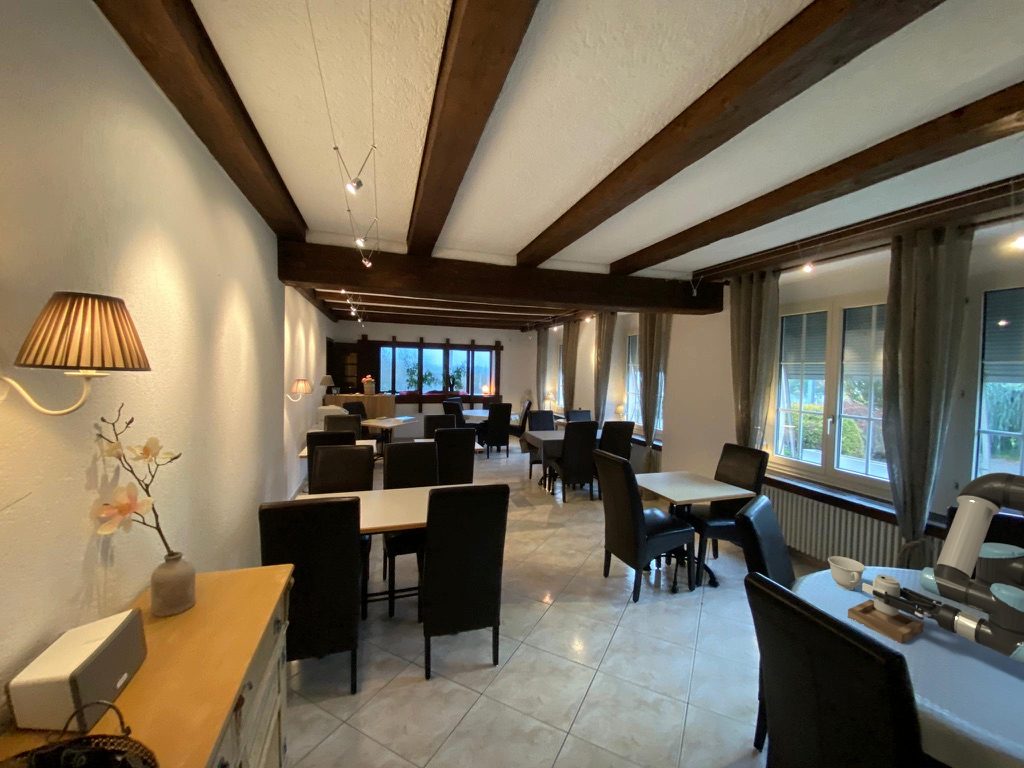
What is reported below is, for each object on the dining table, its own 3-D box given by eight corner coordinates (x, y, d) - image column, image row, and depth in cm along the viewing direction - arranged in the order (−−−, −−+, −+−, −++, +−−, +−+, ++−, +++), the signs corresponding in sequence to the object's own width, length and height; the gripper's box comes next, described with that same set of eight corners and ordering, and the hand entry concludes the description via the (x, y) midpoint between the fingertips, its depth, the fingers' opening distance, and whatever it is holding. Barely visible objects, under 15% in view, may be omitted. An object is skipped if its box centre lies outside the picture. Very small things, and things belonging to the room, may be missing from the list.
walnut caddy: (869, 606, 150) (870, 599, 150) (923, 631, 137) (924, 622, 137) (847, 617, 144) (848, 609, 144) (901, 644, 131) (901, 635, 130)
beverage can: (872, 603, 144) (874, 571, 144) (897, 610, 140) (899, 577, 140) (874, 612, 139) (876, 579, 139) (899, 619, 135) (901, 585, 135)
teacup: (838, 596, 157) (839, 571, 157) (821, 576, 172) (822, 554, 171) (875, 601, 154) (876, 576, 153) (855, 581, 168) (856, 558, 167)
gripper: (944, 642, 120) (852, 600, 141) (972, 625, 128) (881, 588, 149) (945, 618, 119) (853, 580, 140) (973, 602, 127) (882, 568, 148)
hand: (868, 584), depth 144 cm, fingers closed on beverage can, 6 cm apart
